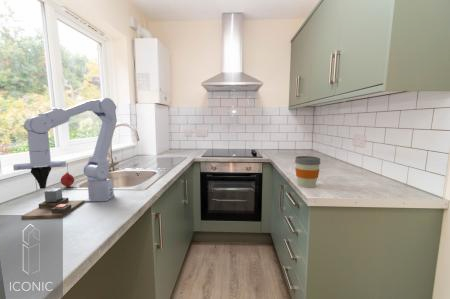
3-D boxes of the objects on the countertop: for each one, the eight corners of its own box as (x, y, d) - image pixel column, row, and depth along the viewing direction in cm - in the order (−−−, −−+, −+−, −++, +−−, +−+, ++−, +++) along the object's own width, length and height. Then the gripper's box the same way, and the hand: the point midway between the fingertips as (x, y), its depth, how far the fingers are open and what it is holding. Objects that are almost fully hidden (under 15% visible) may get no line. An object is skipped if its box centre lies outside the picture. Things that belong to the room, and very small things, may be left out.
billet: (62, 202, 93) (61, 188, 92) (57, 205, 89) (55, 191, 88) (52, 202, 92) (50, 188, 91) (45, 206, 88) (44, 191, 87)
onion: (59, 189, 114) (57, 173, 113) (64, 186, 120) (62, 171, 119) (72, 188, 116) (71, 172, 115) (76, 185, 121) (75, 170, 120)
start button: (67, 208, 85) (67, 203, 85) (63, 211, 83) (62, 206, 82) (60, 208, 85) (59, 204, 85) (55, 211, 82) (55, 206, 82)
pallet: (84, 202, 95) (84, 196, 95) (62, 217, 80) (61, 210, 80) (50, 203, 94) (50, 197, 94) (21, 218, 79) (20, 211, 79)
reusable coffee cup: (289, 183, 124) (290, 156, 122) (306, 181, 129) (307, 155, 128) (306, 190, 113) (307, 160, 111) (324, 187, 118) (326, 158, 116)
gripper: (65, 148, 87) (68, 182, 89) (16, 150, 80) (20, 187, 82) (63, 150, 81) (66, 187, 83) (9, 152, 74) (13, 193, 76)
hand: (43, 187), depth 82 cm, fingers closed
